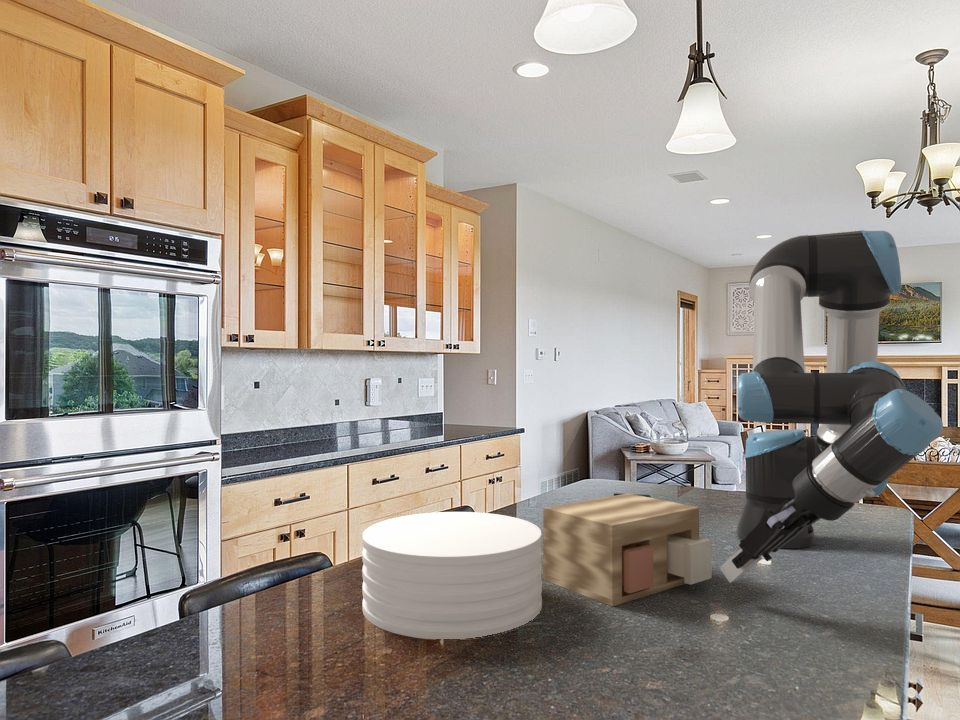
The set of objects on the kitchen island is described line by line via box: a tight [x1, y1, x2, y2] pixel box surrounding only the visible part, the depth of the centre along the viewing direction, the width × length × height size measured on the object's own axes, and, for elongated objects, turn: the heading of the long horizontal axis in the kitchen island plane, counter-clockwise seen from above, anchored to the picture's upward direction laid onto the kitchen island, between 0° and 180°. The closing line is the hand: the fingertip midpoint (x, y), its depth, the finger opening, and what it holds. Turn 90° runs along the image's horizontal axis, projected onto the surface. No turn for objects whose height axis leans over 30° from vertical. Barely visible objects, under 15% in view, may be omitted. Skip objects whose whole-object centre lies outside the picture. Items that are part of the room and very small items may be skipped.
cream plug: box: [667, 534, 713, 585], centre depth 116 cm, size 17×6×6 cm, turn 36°
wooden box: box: [542, 492, 700, 607], centre depth 115 cm, size 16×22×12 cm
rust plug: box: [622, 545, 653, 593], centre depth 112 cm, size 17×6×6 cm, turn 36°
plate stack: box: [361, 511, 543, 640], centre depth 104 cm, size 28×28×12 cm
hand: (727, 574), depth 104 cm, fingers closed
